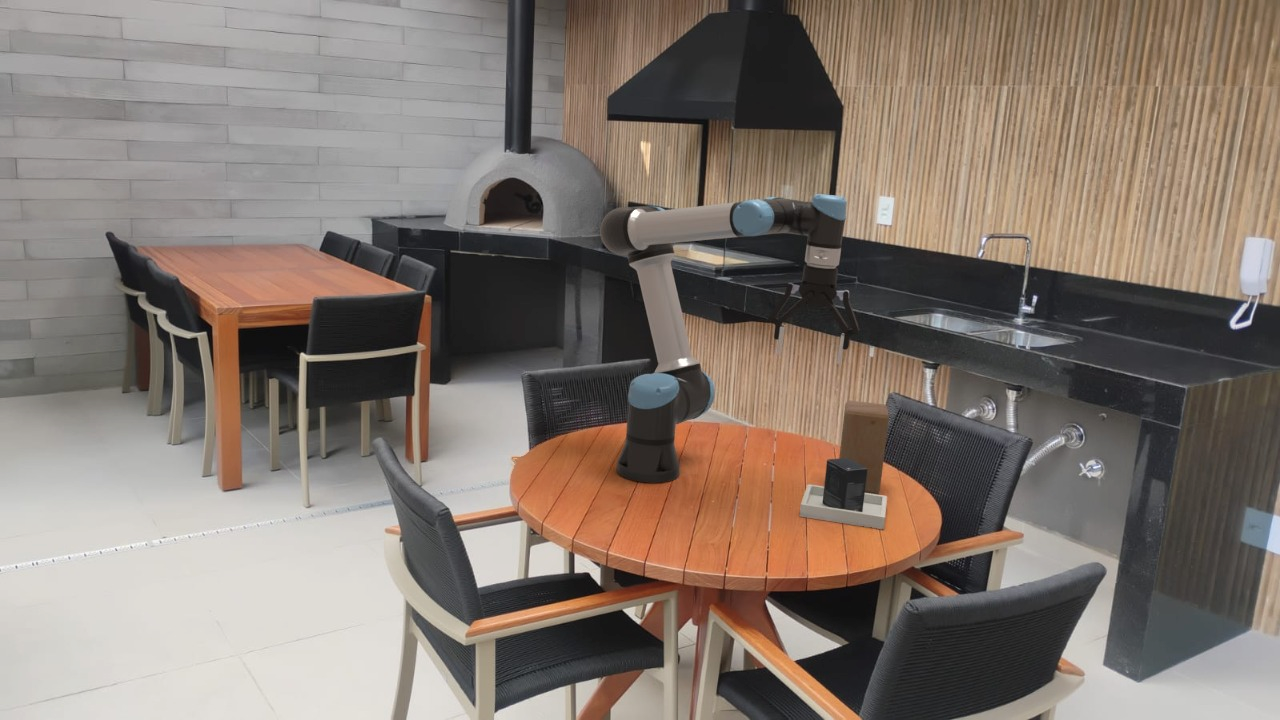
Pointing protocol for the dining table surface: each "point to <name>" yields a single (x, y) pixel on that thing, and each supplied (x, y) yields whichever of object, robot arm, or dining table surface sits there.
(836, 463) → the box
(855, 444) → the wooden block
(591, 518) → the dining table surface
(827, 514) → the tray
